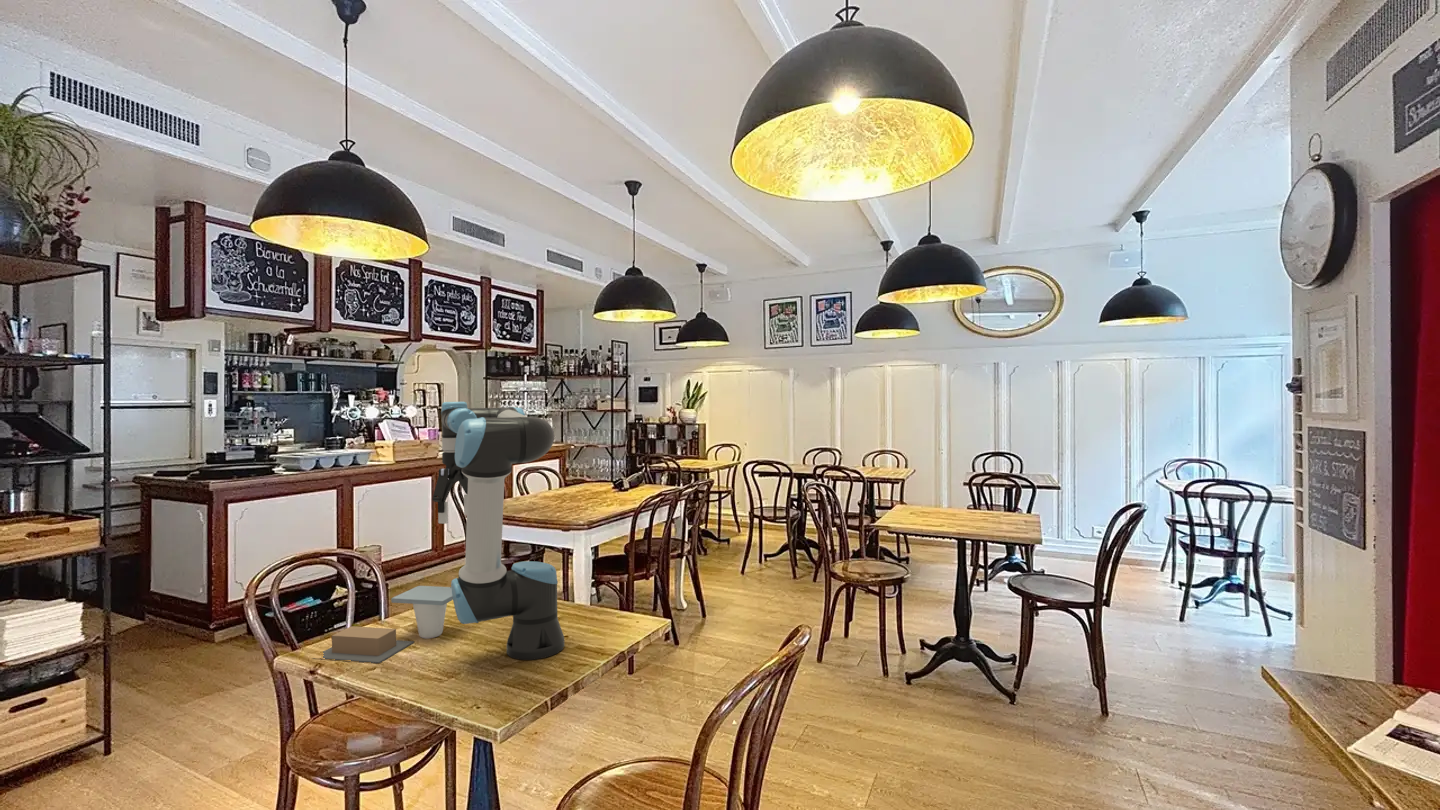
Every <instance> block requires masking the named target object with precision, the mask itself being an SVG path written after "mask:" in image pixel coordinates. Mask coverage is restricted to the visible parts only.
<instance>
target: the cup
mask: <svg viewBox="0 0 1440 810" xmlns="http://www.w3.org/2000/svg"><path fill="white" fill-rule="evenodd" d="M447 605H448V603H446V604H444V605H428V604H412V607H413V612H414V616H415V620H416V626H417V632H418V636H419V637H420V638H421V639H433V638H436V637H439V636H441V635H442V634H443V631H444V624H445V618H446V612H447Z"/></svg>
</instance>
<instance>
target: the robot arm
mask: <svg viewBox="0 0 1440 810" xmlns="http://www.w3.org/2000/svg"><path fill="white" fill-rule="evenodd" d="M525 414H526V413H525V411H524V409H523V408H522V407H514V406H510V407H468V403H467V401H466V402H465V401H444V402H442V404H441V412H440V415H441V440H442V441H441V443H442V444H441V445H442V447H441V449H442V451H443V452H442V453H441V455H442V456H441V457H442V458H441V459H442V461H441V463H442V464H443V465H445V468H439V470H438V477H437V480H436V483H435V488H434V491H433V495H432V499H431V500H432V501H433V502H434V503H437V514H438V515H437V517H438V519H437V522H438V524H443V525H444V524H446V525H447V524H448V523H449V518H448V517H449V514H448V513H449V507H448V506H449V503H448V501H447V498H448V496H449V494H450V492H451V490H452V487H453V485H454V484H455V483H456V482H459V485H460V486H461V488H462V490H463V491H464V493H465V494H463V514H464V516H466V527H465V528H466V531H465V559H464V561H465V564H464V565H463V566H462V567H461V568H459V570H458V577H456V578H453V579H452V580H451V581H450V582H451V584H450V587H451V589H452V596H453V600H452V601H453V607H454V611H455V613H456V618H457V620H458V621H459V623H460V624H463V625H467V624H475V623H476V624H479V623H481V622H485V621H491V620H498V619H501V618H508V617H511V616H512V625H511V629H510V632H509V634H508V638H507V641H506V655H507V656H509V658H512V659H514V660H515V659H516V660H521V661H522V660H526V661H527V660H528V661H531V660H539V659H544V658H549V657H552V656H554V655H556V654H558V653H559V651H560V652H562V650H564V648H565V636H564V632H563V629H562V627H561V624H560V621H559V617H558V576H557V569H556V567H555V566H554V565H552V564H550V563H547V562H541V561H532V560H531V561H530V560H529V561H528V560H527V561H518V562H515V563H513V564H512V566H511V568H510V569H511V570H507V567H506V566H505V565H504V564H503V563H502V546H503V545H502V541H503V522H504V521H503V520H504V502H505V501H504V499H505V498H504V497H505V479H506V478H507V477H508V476H509V475H510V474H511V473H512V465H513V464H515V465H516V464H523V463H524V464H525V463H530V462H534V461H536V460H538V459H540V458H542V457H544V456H545V455H546V454H547V453H549V451H550V450H551V448H552V446H553V445H554V441H555V430H554V429H553V426H552V425H551V424H550V423H549V422H548V421H547V420H545V419H544V418H540V417H538V416H527V415H525ZM563 647H564V648H563Z"/></svg>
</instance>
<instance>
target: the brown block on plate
mask: <svg viewBox="0 0 1440 810" xmlns="http://www.w3.org/2000/svg"><path fill="white" fill-rule="evenodd" d="M414 643H415V641H414V640H399V639H397V628H386V627H385V628H384V627H370V626H369V627H368V626H353V625H352V626H351V625H350V626H349V627H347V628H344V629H343V630H340V631H338V632H336V633H334V634H331V647H329V648H326V649H325V650H324V651H322V652H323V653H324V654H323V655H324V656H323V658H325V659H335V660H334V661H336V660H351V661H359V662H358V663H364V662H371V663H370V664H378V663H379V664H382V663H383V662H384V661H386V660H388V659H390V658H391V657H393V656H394V655H396V654H398V653H399V652H401V651H403V650H405V649H406V648H408V647H410V646H412V645H413V644H414ZM382 661H383V662H382Z"/></svg>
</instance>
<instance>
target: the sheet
mask: <svg viewBox="0 0 1440 810" xmlns="http://www.w3.org/2000/svg"><path fill="white" fill-rule="evenodd" d="M451 601H453V596H452V589H451V586H436V585H435V586H433V585H432V586H431V585H418V586H415V587H413V588H411V589H409V590H407V591H404V592H402V593H400V594H397V595H395V596H393V597H392V598H391V602H390V603H391V604H392V603H394V604H410V605H413V604H428V605H444V604H446V603H447V604H448V603H450V602H451Z"/></svg>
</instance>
